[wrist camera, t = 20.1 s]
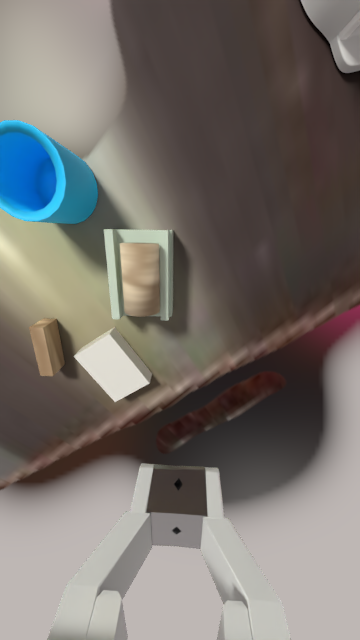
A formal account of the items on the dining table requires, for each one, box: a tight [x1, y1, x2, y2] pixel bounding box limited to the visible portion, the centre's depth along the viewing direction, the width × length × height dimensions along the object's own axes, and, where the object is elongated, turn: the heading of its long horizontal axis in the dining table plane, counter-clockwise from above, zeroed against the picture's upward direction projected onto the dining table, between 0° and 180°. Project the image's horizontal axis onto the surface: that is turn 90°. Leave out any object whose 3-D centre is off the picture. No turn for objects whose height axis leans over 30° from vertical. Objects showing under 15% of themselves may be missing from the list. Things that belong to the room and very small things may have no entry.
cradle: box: [104, 229, 173, 321], centre depth 30 cm, size 8×11×4 cm
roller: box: [120, 243, 160, 317], centre depth 27 cm, size 4×8×4 cm, turn 179°
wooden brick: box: [29, 319, 65, 376], centre depth 35 cm, size 2×8×4 cm, turn 179°
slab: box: [74, 327, 152, 402], centre depth 37 cm, size 10×7×3 cm
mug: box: [0, 120, 98, 224], centre depth 25 cm, size 12×8×8 cm
